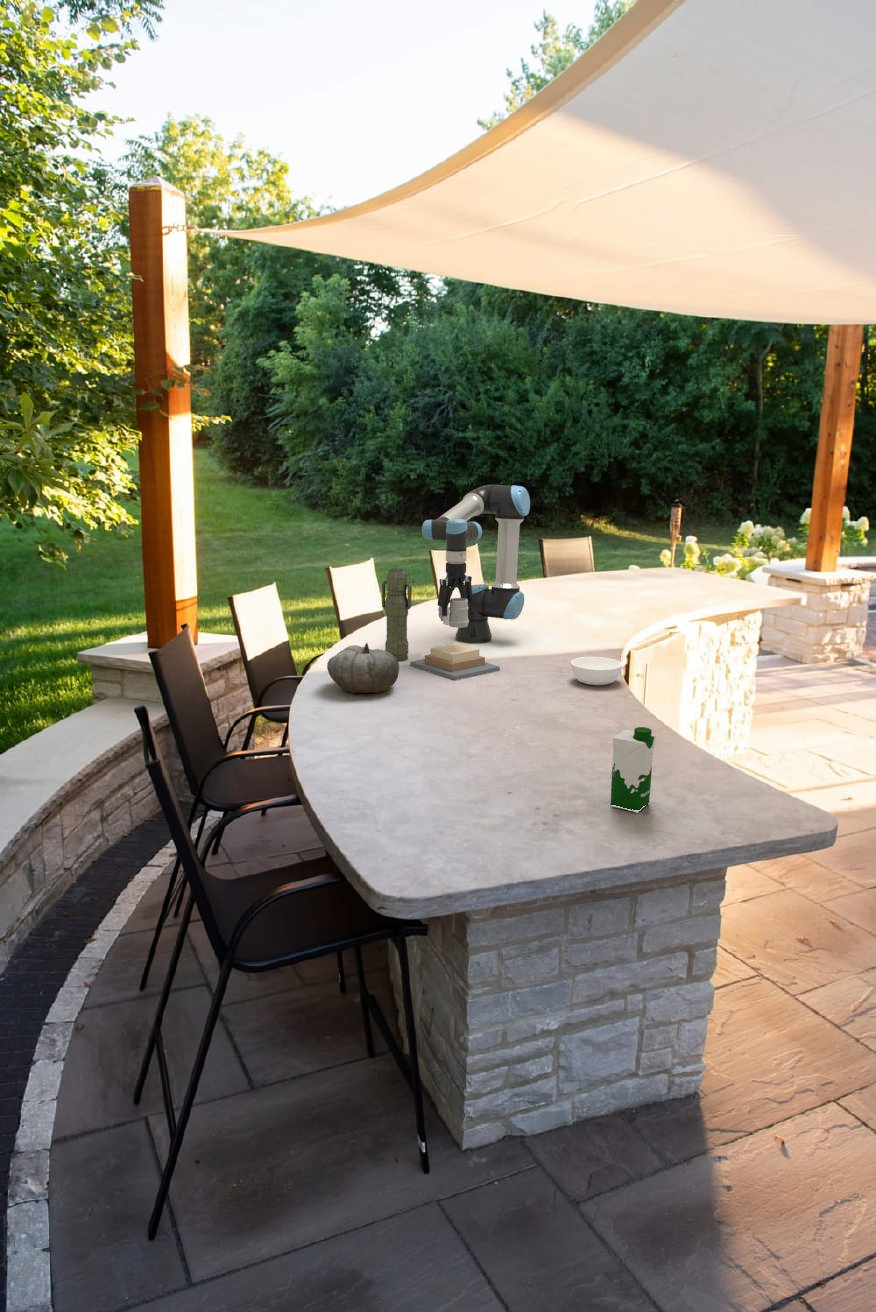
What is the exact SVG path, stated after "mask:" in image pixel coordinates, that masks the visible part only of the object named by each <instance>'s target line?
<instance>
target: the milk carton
mask: <svg viewBox="0 0 876 1312" xmlns="http://www.w3.org/2000/svg"><path fill="white" fill-rule="evenodd" d="M612 742H613V743H612V749H613V751H612V765H611V766H612V768H611V785H610V789H611V790H610V806H611V805H616V806H620V807H623V808H627V809H631V810H632V809H633V810H640V809H641V808H642V807H643V806H645V805H647V804H648V803H649V804H650V796H651V788H652V787H651V784H652V771H653V758H654V757H653V756H654V748H655V743H656V734H652V729H651V728H648V727H644V726H638V727H634V730H630V729H624V730H622V731H621V732H619V733H618V734H616V735H615V736H613V737H612ZM647 806H648V805H647Z"/></svg>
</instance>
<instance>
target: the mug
mask: <svg viewBox="0 0 876 1312" xmlns="http://www.w3.org/2000/svg"><path fill="white" fill-rule="evenodd" d="M448 607H449V608H450V617H449V625H448V626H449V627H451V628H457V629H458V628H463V627H467V626H468V623H469V620H468V600H467V599H465V598H460V597H454V598H452V597H451V599H450V602H449V606H448ZM437 610H438V617H439V619H440V621H441V622H443V616H442V607H441V606H438V609H437Z"/></svg>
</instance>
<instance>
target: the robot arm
mask: <svg viewBox="0 0 876 1312" xmlns="http://www.w3.org/2000/svg"><path fill="white" fill-rule="evenodd" d="M530 499H531V498H530V494H529V491H528V490H527V489H526V488H525V487H524V486H521V485H505V484H504V485H502V484H487V485H483V486H479V487H478V488H475V489H472V490H471V491H469V492H468V493H466V495H464V496H463V498H462V500H461V501H460V502H459V503H457V504H455V506H453V507H451V508H450V509H449V510H447V511H446V512H445V513H443V514H442V515H441V516H440V517H437V518H436V519H426V520H425V521H424V522H422V526H421V534H422V537H423V538H424V539H425V540H428V541H438V542H445V561H446V562H445V572H446V576H445V578H439V588H438V589H439V591H438V598H437V604H436V605H437V606H438V607H439V606H441V607H442V616H443V621H442V624H443V625H445V626H449V617H450V608H449V607H450V603H449V602H450V600H451V599H452V595H453V592H454V591H455V589H456V588H457V589H458V592H459V596H460V597H459V598H465V599H467V600H468V620H469V623H468V626H467V627H463V628H457V631H456V633H455V640H456V641H457V642H460V643H463V644H464V643H465V644H483V643H490V642H491V641H492V633H491V628H490V625H489V618H495V619H504V620H516V619H518V618H519V616H520V615H521V613H522V611H523V610H524V609H523V608H524V606H525V605H524V604H525V595H524V593H523V592H522V591H520V589H521V587H520V586H519V584H518V583H517V579H518V578H517V575H518V561H519V560H518V559H519V545H520V543H519V542H520V528H521V527H520V525H521V523H522V522H524V520H525V516H527V515H529V513H530V509H531V500H530ZM481 514H490V515H491V514H492V515H493V514H494V515H495V517H494V519H495V520H496V521H497V523H498V529H497V531H498V532H497V546H496V547H497V548H496V564H495V565H496V566H495V567H496V568H495V582H493V584H491V587H489V584H486V583H481V584H479V583H478V584H472V576H470V575H466V573H467V563H466V561H467V547H468V546H467V545H468V544H471V543H475V542H477V541H479V540H480V539H481V538H482V535H483V530H482V529H483V528H482V526H481V524H479V523H478V522H476V521H469V520H470V519H471V518H473V517H477V516H480V515H481Z"/></svg>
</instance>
